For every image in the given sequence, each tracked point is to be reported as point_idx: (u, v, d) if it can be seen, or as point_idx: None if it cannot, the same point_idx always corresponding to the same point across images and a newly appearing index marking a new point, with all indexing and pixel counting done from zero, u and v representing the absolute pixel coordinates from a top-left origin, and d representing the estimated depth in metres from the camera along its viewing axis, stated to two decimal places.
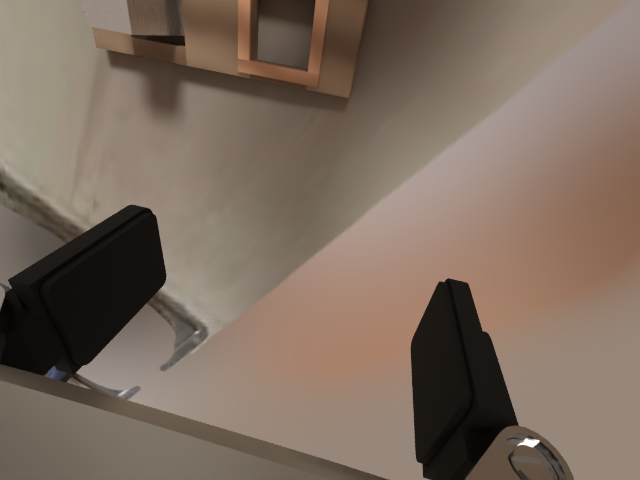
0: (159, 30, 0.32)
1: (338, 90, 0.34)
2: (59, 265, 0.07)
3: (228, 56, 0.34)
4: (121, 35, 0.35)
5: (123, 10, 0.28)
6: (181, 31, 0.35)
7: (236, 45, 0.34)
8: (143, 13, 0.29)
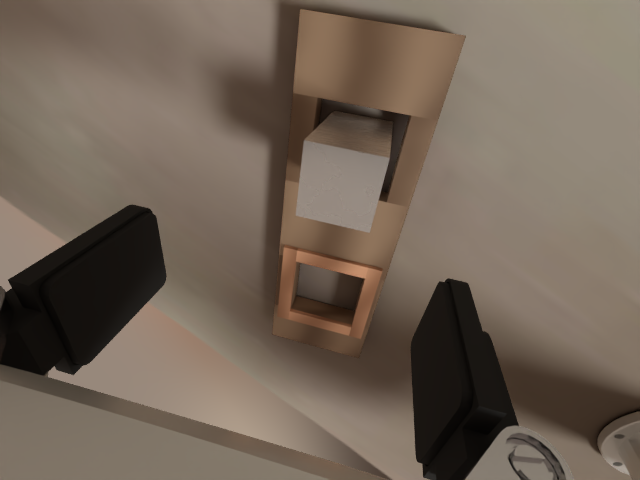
0: None
1: (277, 327, 0.35)
2: (59, 265, 0.07)
3: (299, 236, 0.28)
4: (319, 77, 0.21)
5: (324, 215, 0.18)
6: None
7: (311, 247, 0.28)
8: None
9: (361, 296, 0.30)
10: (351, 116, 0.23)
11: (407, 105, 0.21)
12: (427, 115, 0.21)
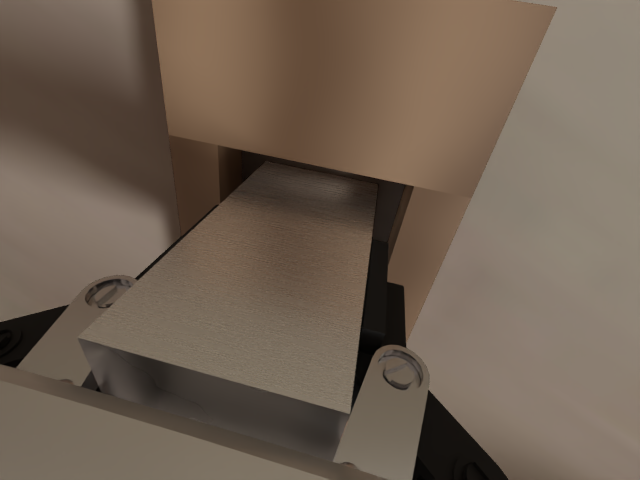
0: None
1: None
2: None
3: None
4: (215, 106, 0.10)
5: None
6: None
7: None
8: None
9: None
10: (295, 177, 0.12)
11: (405, 166, 0.10)
12: (449, 187, 0.10)
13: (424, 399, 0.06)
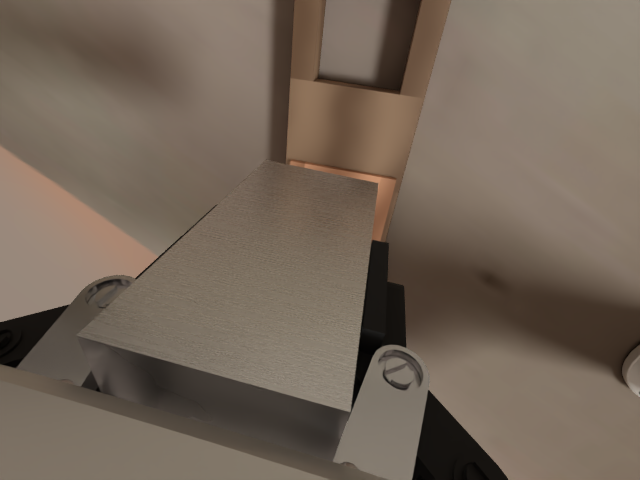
0: None
1: None
2: None
3: (306, 147, 0.26)
4: None
5: None
6: None
7: (319, 160, 0.27)
8: None
9: None
10: (295, 176, 0.12)
11: None
12: None
13: (424, 399, 0.06)
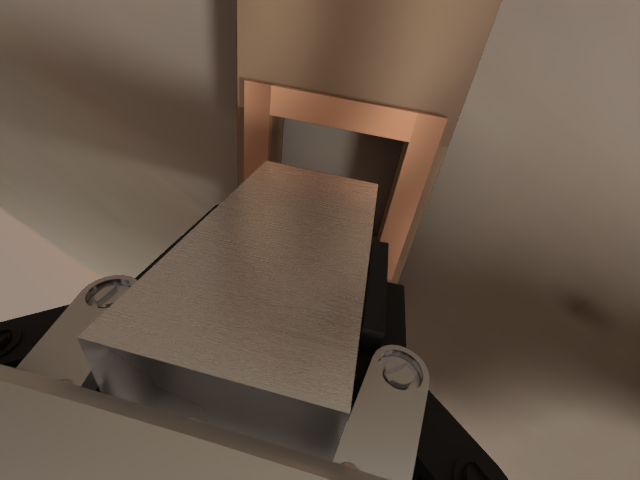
0: None
1: None
2: None
3: (274, 51, 0.14)
4: None
5: None
6: None
7: (299, 80, 0.14)
8: None
9: (398, 187, 0.15)
10: (295, 177, 0.12)
11: None
12: None
13: (424, 399, 0.06)
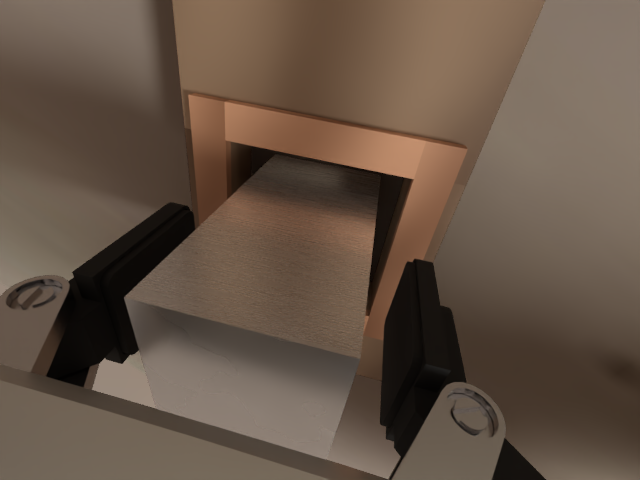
0: None
1: None
2: (116, 258, 0.08)
3: (227, 55, 0.10)
4: None
5: None
6: None
7: (263, 95, 0.10)
8: None
9: (399, 234, 0.11)
10: (303, 168, 0.12)
11: None
12: None
13: (497, 452, 0.05)
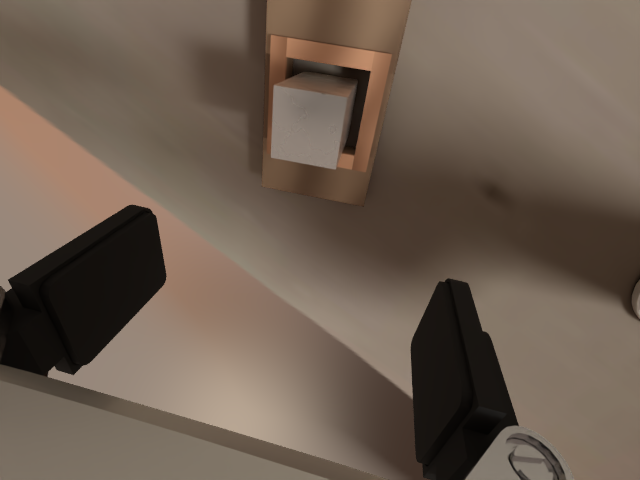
0: None
1: (267, 175, 0.30)
2: (59, 265, 0.07)
3: (289, 16, 0.23)
4: None
5: (296, 156, 0.21)
6: None
7: (304, 34, 0.23)
8: None
9: (366, 102, 0.25)
10: (320, 75, 0.25)
11: None
12: None
13: None
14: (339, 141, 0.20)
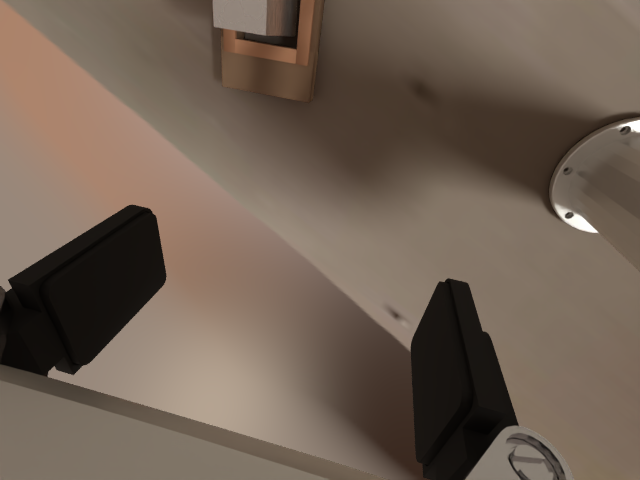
0: None
1: (226, 74, 0.35)
2: (59, 265, 0.07)
3: None
4: None
5: (233, 24, 0.26)
6: None
7: None
8: None
9: None
10: None
11: None
12: None
13: None
14: (266, 7, 0.25)
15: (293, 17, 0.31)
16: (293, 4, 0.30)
